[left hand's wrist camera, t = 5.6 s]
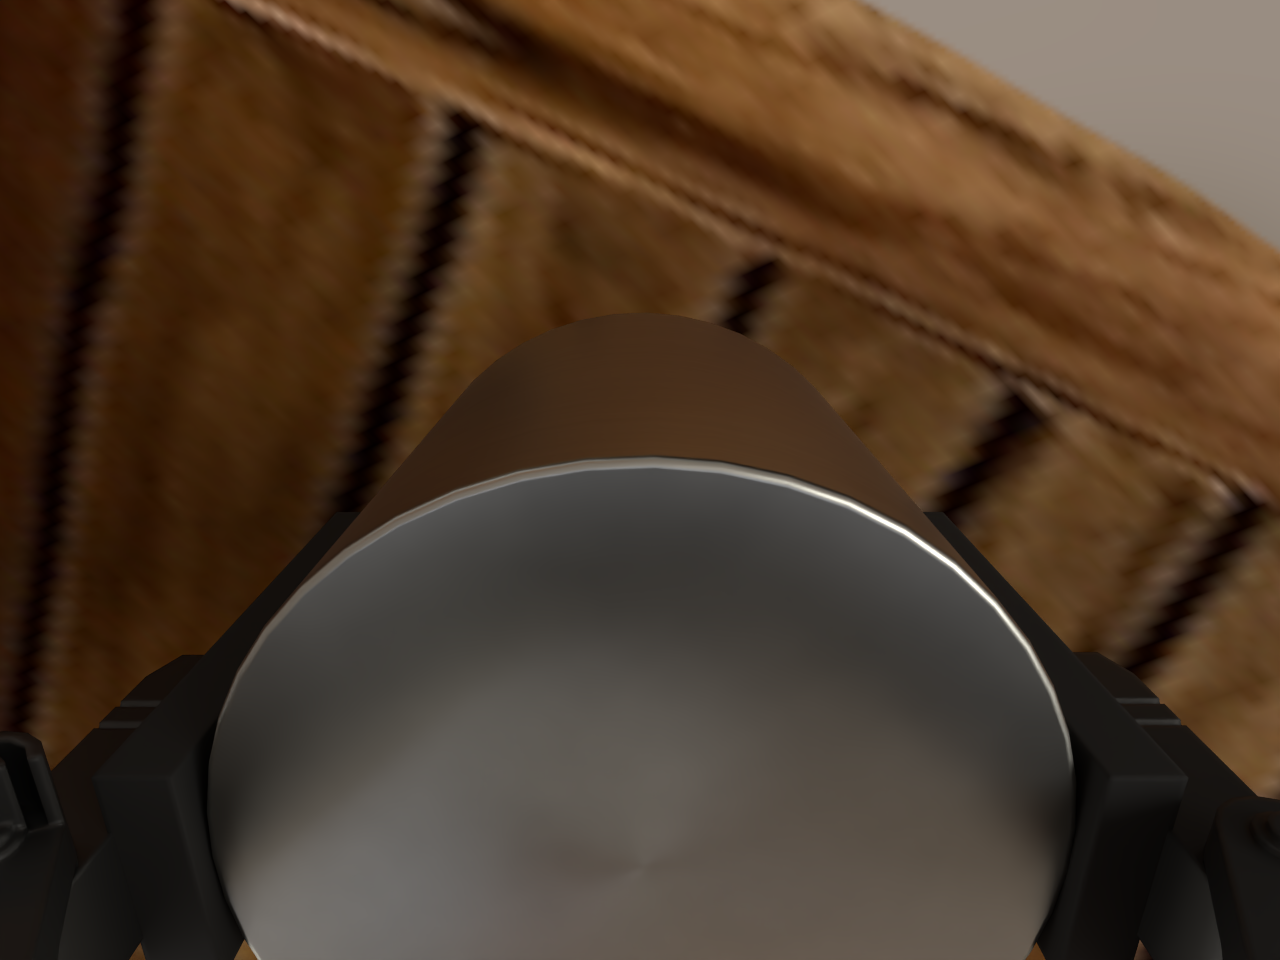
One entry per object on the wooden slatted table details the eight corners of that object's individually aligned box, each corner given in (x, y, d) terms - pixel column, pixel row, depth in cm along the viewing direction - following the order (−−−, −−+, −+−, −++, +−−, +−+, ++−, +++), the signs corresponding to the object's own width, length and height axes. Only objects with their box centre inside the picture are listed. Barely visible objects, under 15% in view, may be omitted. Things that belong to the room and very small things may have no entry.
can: (696, 207, 14) (769, 236, 6) (946, 580, 16) (1219, 934, 9) (321, 492, 15) (12, 791, 8) (598, 787, 18) (567, 1231, 10)
